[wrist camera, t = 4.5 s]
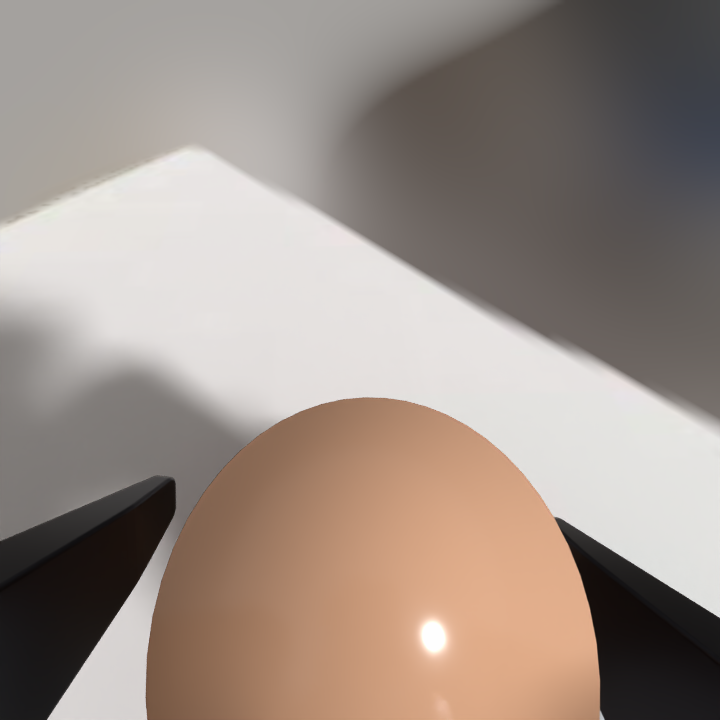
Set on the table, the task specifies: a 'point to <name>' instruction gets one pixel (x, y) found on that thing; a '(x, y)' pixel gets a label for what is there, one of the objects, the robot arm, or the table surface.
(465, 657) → the peach stamp handle
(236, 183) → the table surface
